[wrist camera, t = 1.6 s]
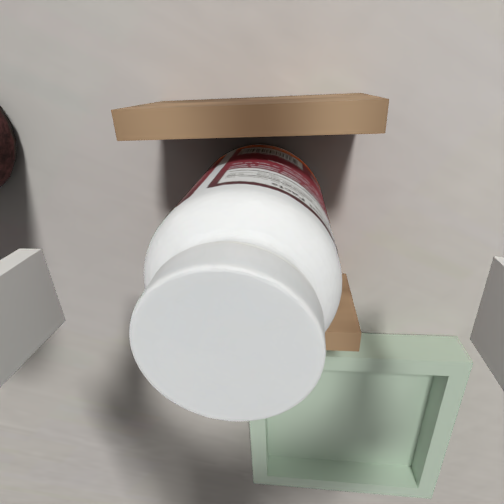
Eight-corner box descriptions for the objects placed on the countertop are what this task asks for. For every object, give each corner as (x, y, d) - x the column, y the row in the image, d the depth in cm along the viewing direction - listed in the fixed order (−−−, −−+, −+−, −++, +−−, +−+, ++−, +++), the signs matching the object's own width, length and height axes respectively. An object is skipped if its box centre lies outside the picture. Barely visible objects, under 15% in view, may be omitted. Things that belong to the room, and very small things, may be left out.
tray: (256, 455, 27) (253, 483, 25) (249, 329, 22) (244, 352, 20) (421, 467, 25) (431, 498, 24) (456, 336, 20) (473, 362, 18)
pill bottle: (237, 273, 20) (182, 463, 10) (179, 177, 18) (37, 298, 8) (342, 230, 18) (398, 410, 8) (291, 117, 16) (286, 179, 6)
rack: (187, 286, 21) (158, 343, 16) (161, 101, 16) (110, 110, 12) (344, 289, 20) (359, 351, 15) (361, 93, 15) (389, 99, 11)
